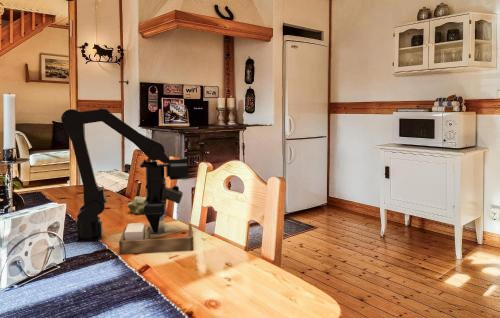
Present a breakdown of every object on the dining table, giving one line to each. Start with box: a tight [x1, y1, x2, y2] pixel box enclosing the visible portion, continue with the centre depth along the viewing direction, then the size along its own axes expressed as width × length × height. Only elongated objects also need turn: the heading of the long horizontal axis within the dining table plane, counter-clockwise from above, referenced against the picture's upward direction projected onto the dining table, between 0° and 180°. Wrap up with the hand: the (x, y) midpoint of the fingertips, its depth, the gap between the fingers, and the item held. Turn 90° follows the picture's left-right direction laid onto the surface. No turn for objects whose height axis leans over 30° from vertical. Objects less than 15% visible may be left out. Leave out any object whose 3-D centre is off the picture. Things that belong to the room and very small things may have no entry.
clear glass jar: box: [147, 215, 166, 236], centre depth 131 cm, size 5×5×6 cm
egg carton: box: [125, 222, 146, 241], centre depth 118 cm, size 5×9×6 cm, turn 10°
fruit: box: [127, 195, 150, 215], centre depth 156 cm, size 9×9×8 cm
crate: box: [118, 223, 194, 255], centre depth 119 cm, size 20×14×4 cm
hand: (156, 228), depth 131 cm, fingers open, 9 cm apart
